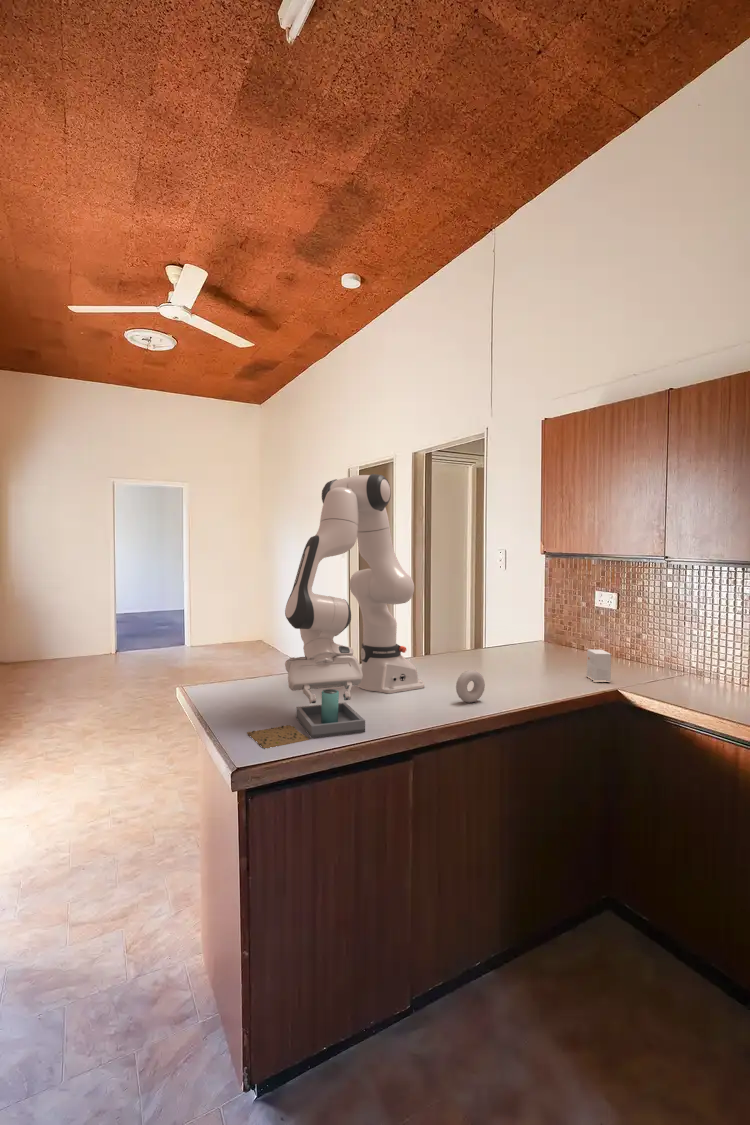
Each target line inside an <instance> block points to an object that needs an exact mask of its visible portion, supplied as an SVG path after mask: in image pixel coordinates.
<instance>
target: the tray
mask: <svg viewBox="0 0 750 1125" xmlns="http://www.w3.org/2000/svg"><path fill="white" fill-rule="evenodd" d="M295 709H296V710H295V711H296V712H295V713H296V714H295V715H296V719H297V721H298V722H299V724H300V725H301V726H302V728H303V729H304V730H305V732H306V733H307V734H308V736H309V737H310V738H311V739H319V738H326V737H333V736H334V737H335V736H342V735H343V736H344V735H352V734H353V735H354V734H361V733H365V732H366V720H365V719H364V718H363V717H362V716H361V715H360V714H359V713H358V712H357V711H355V709H353V708H352V707H351V706H350V704H348V703H347V702H344V701H343V702H339V705H338V722H334V723H325V724H323V723H321V704H315V705H312V704H311V705H305V706H303V705H302V706H296V708H295Z"/></svg>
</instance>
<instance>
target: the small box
mask: <svg viewBox="0 0 750 1125" xmlns="http://www.w3.org/2000/svg"><path fill="white" fill-rule="evenodd" d="M586 651H587V653H586V655H587V656H586V677H587V676H589V677H591V678H592V679H594V680H606V681H610V682H611V674H612V672H611V671H612V670H611V669H612V668H611V667H612V653H610V652H608V651H606V650H603V649H587V650H586Z"/></svg>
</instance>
